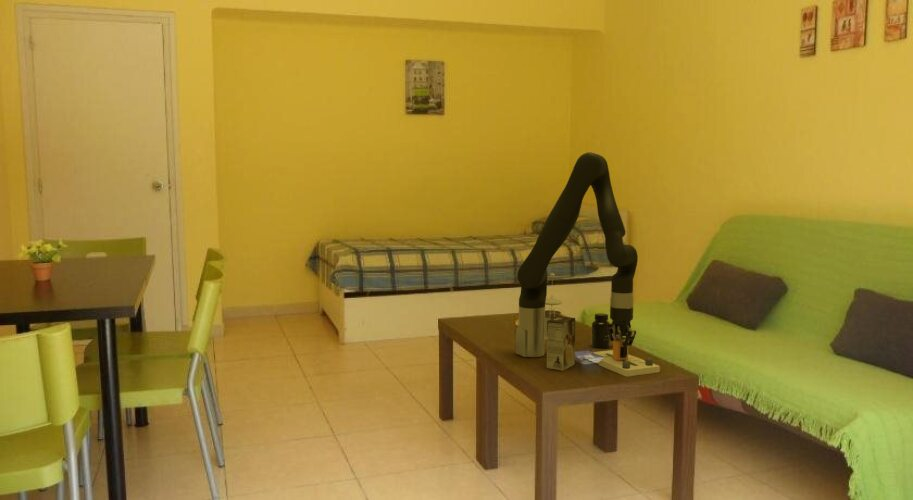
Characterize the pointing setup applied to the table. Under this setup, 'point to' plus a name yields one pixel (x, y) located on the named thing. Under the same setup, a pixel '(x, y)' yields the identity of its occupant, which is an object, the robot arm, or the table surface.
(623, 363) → the console
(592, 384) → the table surface
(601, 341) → the supplement bottle
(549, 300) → the french press
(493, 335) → the table surface
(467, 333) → the table surface
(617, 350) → the fader cap
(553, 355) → the coffee box
